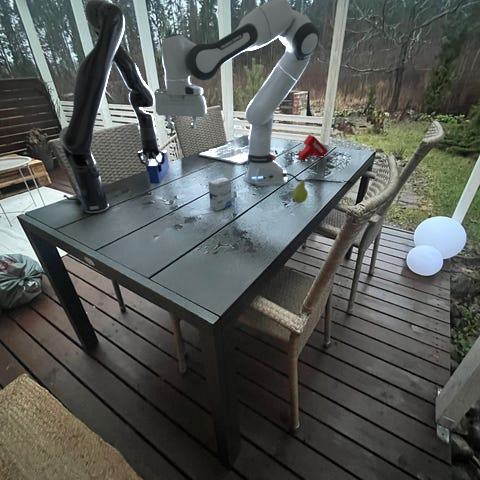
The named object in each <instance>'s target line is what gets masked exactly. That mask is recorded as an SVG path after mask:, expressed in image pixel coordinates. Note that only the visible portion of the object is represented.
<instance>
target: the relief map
mask: <svg viewBox="0 0 480 480" xmlns="http://www.w3.org/2000/svg"><path fill="white" fill-rule="evenodd" d="M248 152H249V144H248V145H245V146H243V147H241V146H239V145H238V144H237V143H236V142H235V141H233V142H231V141H229V142H228V143H227V144H224V145H221V146H219V147H215V148H209V149H208V150H206V151H202V152H200V153H199V154H198V155H199V156H201V157H205V158H208V159H213V160H219V161H223V162H228V163H231V164H236V165H242V164H245V163H247V155H248Z"/></svg>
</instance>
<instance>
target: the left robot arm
mask: <svg viewBox="0 0 480 480" xmlns="http://www.w3.org/2000/svg"><path fill="white" fill-rule="evenodd" d="M84 8H85V9H84V10H85V11H84V13H85V19H86V21H87V22H88V24H89V27H90V28H91V29H92V31H93V32H94V33H95V35H96V37H97V40H96V42H95V45H93V48H92V49H91V51H89V52H88V54H87V55H85V57H84V58H83V59H82V61H81V62H80V63H79V65H78V67H77V71H76V75H75V79H74V84H73V92H72V93H73V94H72V95H73V97H72V98H73V99H72V101H73V102H72V105H73V106H72V113H71V117H70V120H69V124H68V125H67V126H65V127H63V128H62V129H61V130H60V132H59V135H58V138H59V142H60V145H61V148H62V151H63V154H64V156H65V160H66V162H67V164H68V166H69V168H70V171H71V173H72V176H73V180H74V182H75V185H76V188H77V189H76V191H77V194H78V197H79V198H78V197H69V196H68V195H67V194H64V195H63V198H66V199H67V200H69V201H78V202H79V203H80V204H81V206H82V208H83V210H84V211H85V213H86V214H90V215H96V214H101V213H104V212H106V211H108V210H109V209H110V205H109V203H108V199H107V195H106V192H105V189H104V185H103V181H102V179H101V175H100V171H99V169H98V165H97V162H96V160H95V159H94V156H93V153H92V150H91V148H92V144H93V136H94V130H95V124H96V120H97V116H98V114H99V111H100V107H101V105H102V100H103V98H104V95H105V91H106V87H107V84H108V79H109V76H110V71H111V68H112V65H113V63H114V64H115V66H116V68H117V69H118V71H119V73H120V75H121V78H122V79H123V81H124V83H125V86H126V87H127V89H128V90H130V91H129V94H128V100H129V103H130V105H131V108H132V109H133V112H134V114H135V116H136V119H137V124H138V129H139V137H140V141H141V147H142V150H141V151H140V150H139V151H138V152H137V153H136V155H137V157H138V159H139V161H140V163H141V165H144V166H145V169H146V172H147V173H148V169H147V165H148V164H149V163H150V161H151V160H152V159H155V160H156V162H157V163H158V169H159V173H160V172H161V171H162V165H161V164H164V162H165V155H166V152H165V151H166V150H161V149H160V148H159V147H160V146H159V141H158V135H157V130H156V126H155V121H154V115H153V114H152V113H149V112H146V111H144V109H143V108H145V109H147V108H149V109H150V108H152V107H154V106H155V96H154V92H153V91H152V90H151V88H150V87H149V86H148V85H147V84H146V82H145V81H144V80H143V78H142V76H141V73H140V71H139V68H138V67H137V65H136V63H135V61H134V60H133V58H132V57H131V56H130V54H128V52H127V51H126V49H125V48H124V47H123V46H122V44H121V40H122V38H123V35H124V33H125V26H126V21H125V20H126V19H125V18H126V17H125V14H124V11H123V10H122V8H120V6H118V5H117V4H115V3H113V2H109V1H105V0H88V1H87V2H86V4H85V7H84ZM159 153H160V154H161V156H162V161H160V158H159V156H158V155H159ZM143 155H144V156H145V157H144V156H143Z"/></svg>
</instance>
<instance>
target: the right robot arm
mask: <svg viewBox="0 0 480 480" xmlns="http://www.w3.org/2000/svg"><path fill="white" fill-rule="evenodd" d="M320 37H321V33H320V31H319V28H318V27H317V26H316V24H315V23H314V22H312V21H311V19H310V18H309V17H307V15H305V14H303V13H301V12H300V11H298V10H297V9H296V8H294V7H293V6H292V3H290V1H289V0H269V1H267V2H265V3H262V4H260V5H259V6H257V7H255V8H253V9H252V10H251V11H250V12H248V13H246V14H245V16H243V18H242V19H241V20H240V22H239V24H238V26H237V27H236V29H234V30H233V31H232V32H230V33H229V34H227V35H225V36H223V37H222V38H220V39H218V40H217V41H214V42H212V43H198V44H196V43H195V42H192V41H191V40H190V39H188V38H186V36H184V34H181V33H174V34H170V35H167V36H165V37H163V39H162V41H161V59H162V66H163V69H164V82H165V88H157V89H155V90H154V92H153V96H154V100H155V102H154V107H155V113H156V114H157V115H158V116H164V118H165V120H166V122H167V123H168V127H169V129H175V126H176V125H175V122H173V121H172V117H189V118H191V117H192V120H193V122H192V123H191V124H190V129H191V130H196V129H197V123H198V121H199V118H204V117H206V116H207V114H208V113H207V112H208V111H207V103H206V99H205V96H204V95H203V94H204V89H203V87H201V86H199V85H196V84H193V83H191V80H190V78H191V77H195V78H196V79H197V80H200V81H209V80H210V79H212V78H213V77H215V75H216V74H217V73H218V71H219V69H220V68H221V66H222V65H224V64H225V63H226V62H228V61H230V60H231V59H233V58H235V57H236V56H238V55H240V54H241V53H244V52H246V51H254V50H257V49H259V48H262V47H264V46H266V45H268V44H270V43H271V42H273V41H274V40H277V39H278V40H279V41H280V42H281V43H282V44H283V46H284V47H285V52H284V54H283V55H282V56H281V57H280V59H279V61H278V62H277V63H276V65H275V67H273V70H272V71H271V73H270V75H268V77H267V79H266V80H265V81H264V82H263V84H262V86H261V87H260V89H258V91H257V92H256V93H255V95H254V97H253V98H252V99H251V101H250V102H249V104H248V105H247V107H246V110H245V119H246V122H247V123H248V124H250V127H249V128H250V129H249V134H248V145H249V152H248V155H247V162H246V163H247V171H246V175H245V177H244V179H245V180H244V181H245V182H246V183H249V184H252V185H255V186H257V187H267V186H279V185H286V184H288V182H289V181H288V180H289V179H288V177H287V176H291V177H292V178H293V179H294V180H295V181H297V182H301V181H302V180H303V179H298V178H297V177H296V176H295V175H293V174H291V173H288V172H287V170H284V169H283V167H282V166H281V165H280V164H279V163H277V162H276V161H275V160H276V158H277V157H276V156H275V154H273V152H271V145H272V133H273V126H274V117H275V112H276V110H277V109H278V108H279V107H280V106H281V104H282V103H283V101H284V100H285V99H286V98H287V96H288V95H289V93H290V92H291V90H292V89H293V88H294V86H295V85H296V84H297V82H298V81H299V79H300V78H301V76H302V74H303V73H304V71H305V69H306V68H307V66H308V64H309V62H310V60H311V56H312V55H313V54H314V52H315V51H316V49H317V48H318V45H319V42H320ZM305 179H306V178H305ZM305 179H304V180H305ZM309 181H310V182H311V181H313V182H322V183H332V184H333V183H335V184H341V183H349V184H351V183H352V182H351V181H350V180H348V181H344V180H343V181H344V182H341V181H342V180H326V179H316V178H307V179H306V180H305V182H309Z"/></svg>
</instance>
